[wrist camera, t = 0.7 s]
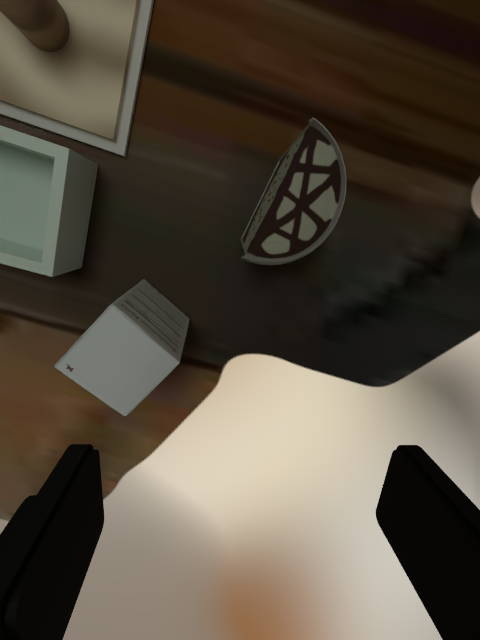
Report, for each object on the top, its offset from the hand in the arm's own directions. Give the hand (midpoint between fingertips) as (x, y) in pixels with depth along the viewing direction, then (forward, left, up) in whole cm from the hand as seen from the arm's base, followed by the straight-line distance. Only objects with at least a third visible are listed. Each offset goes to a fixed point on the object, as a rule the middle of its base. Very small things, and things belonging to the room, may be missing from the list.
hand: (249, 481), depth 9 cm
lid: (-4, -28, -27) cm, 40 cm away
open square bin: (+8, -20, -28) cm, 35 cm away
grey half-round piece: (-11, -2, -28) cm, 30 cm away
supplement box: (+9, -3, -28) cm, 29 cm away
